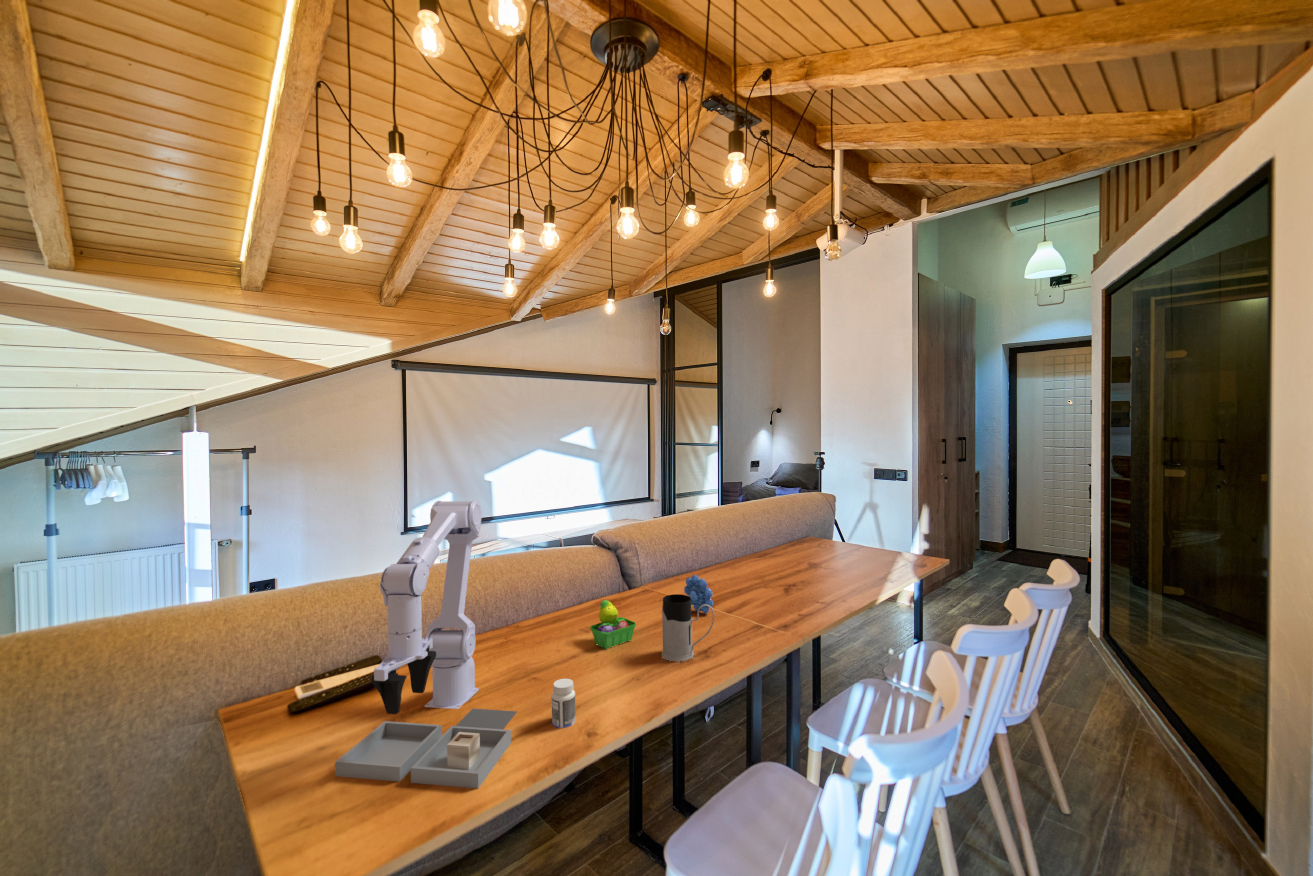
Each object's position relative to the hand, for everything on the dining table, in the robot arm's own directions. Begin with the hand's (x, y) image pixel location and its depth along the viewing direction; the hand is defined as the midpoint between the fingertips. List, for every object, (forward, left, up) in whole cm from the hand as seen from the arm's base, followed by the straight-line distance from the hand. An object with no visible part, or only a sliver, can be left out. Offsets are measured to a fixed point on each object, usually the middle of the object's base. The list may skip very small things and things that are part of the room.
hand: (406, 702), depth 98 cm
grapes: (-83, +48, -10) cm, 96 cm away
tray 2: (+2, +12, -9) cm, 16 cm away
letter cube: (+2, +12, -9) cm, 15 cm away
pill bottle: (-13, +26, -10) cm, 30 cm away
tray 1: (+2, -2, -9) cm, 10 cm away
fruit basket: (-56, +26, -10) cm, 62 cm away
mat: (-11, +10, -9) cm, 17 cm away
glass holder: (-49, +48, -10) cm, 69 cm away
